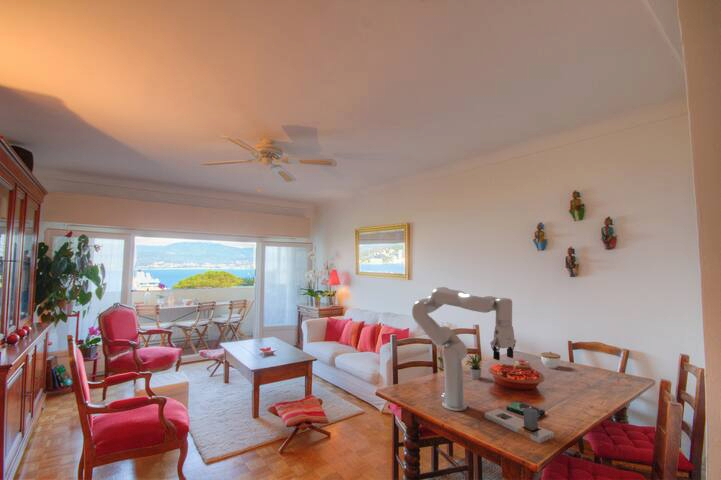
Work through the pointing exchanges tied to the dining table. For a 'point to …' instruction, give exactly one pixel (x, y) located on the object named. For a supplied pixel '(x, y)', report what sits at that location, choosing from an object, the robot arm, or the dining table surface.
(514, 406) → the disk drive
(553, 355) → the lidded bowl
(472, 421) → the dining table surface
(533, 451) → the dining table surface
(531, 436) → the grey slotted board
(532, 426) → the steel block
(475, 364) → the house plant
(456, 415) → the dining table surface
